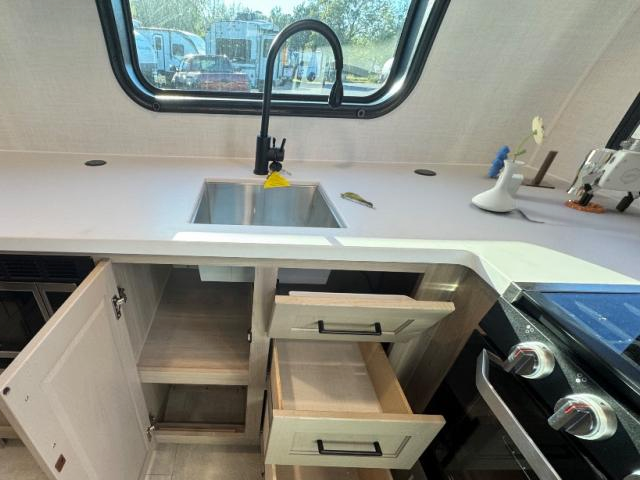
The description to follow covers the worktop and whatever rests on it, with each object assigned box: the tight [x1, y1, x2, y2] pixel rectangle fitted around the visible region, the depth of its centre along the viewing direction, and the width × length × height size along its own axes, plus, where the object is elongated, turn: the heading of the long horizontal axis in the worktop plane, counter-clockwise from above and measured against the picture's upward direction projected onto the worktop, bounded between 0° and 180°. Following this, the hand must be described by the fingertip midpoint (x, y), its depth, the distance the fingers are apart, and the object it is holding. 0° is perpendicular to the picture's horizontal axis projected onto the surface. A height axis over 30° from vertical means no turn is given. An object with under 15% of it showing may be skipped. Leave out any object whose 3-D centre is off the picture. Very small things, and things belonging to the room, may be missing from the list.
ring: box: [563, 199, 607, 214], centre depth 98 cm, size 10×10×2 cm
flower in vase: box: [471, 115, 547, 213], centre depth 91 cm, size 13×11×25 cm
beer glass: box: [565, 147, 619, 197], centre depth 106 cm, size 7×7×15 cm
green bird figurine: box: [339, 191, 374, 209], centre depth 101 cm, size 4×13×2 cm, turn 32°
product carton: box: [494, 171, 525, 199], centre depth 105 cm, size 6×6×7 cm
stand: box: [520, 149, 559, 190], centre depth 116 cm, size 9×9×12 cm
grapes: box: [488, 145, 511, 178], centre depth 124 cm, size 12×7×12 cm, turn 134°
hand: (600, 208), depth 97 cm, fingers open, 8 cm apart
